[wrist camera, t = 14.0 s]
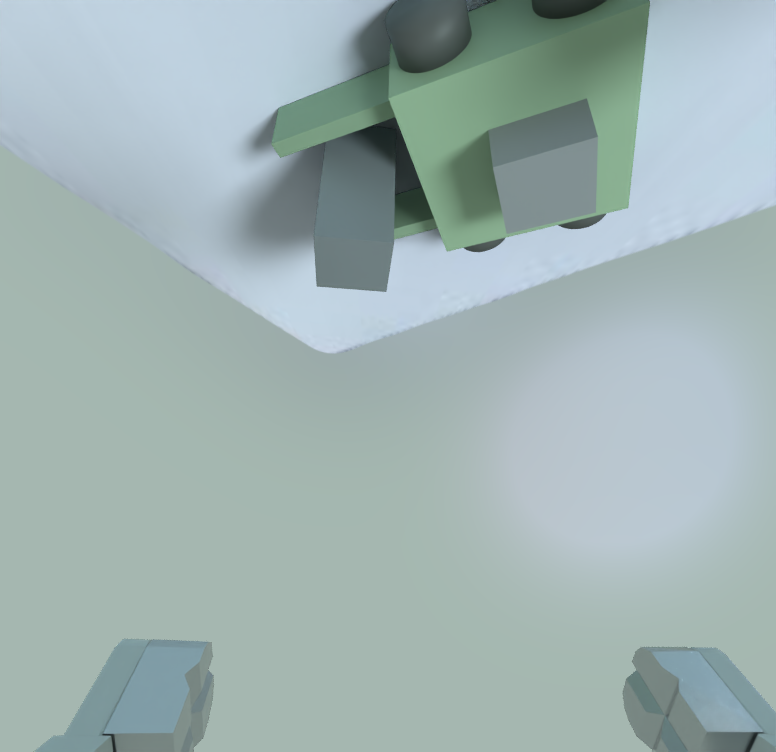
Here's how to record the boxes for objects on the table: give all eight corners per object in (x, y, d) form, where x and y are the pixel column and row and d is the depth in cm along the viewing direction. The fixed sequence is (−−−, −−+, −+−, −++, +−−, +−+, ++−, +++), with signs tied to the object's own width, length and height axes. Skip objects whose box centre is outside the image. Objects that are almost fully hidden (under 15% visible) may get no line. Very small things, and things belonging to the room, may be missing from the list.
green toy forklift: (250, 60, 27) (225, 152, 23) (628, -107, 20) (676, -17, 17) (361, 244, 40) (356, 320, 36) (611, 178, 33) (635, 263, 30)
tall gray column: (328, 121, 30) (313, 235, 25) (396, 129, 30) (393, 243, 26) (329, 178, 34) (316, 286, 29) (389, 184, 34) (386, 291, 30)
